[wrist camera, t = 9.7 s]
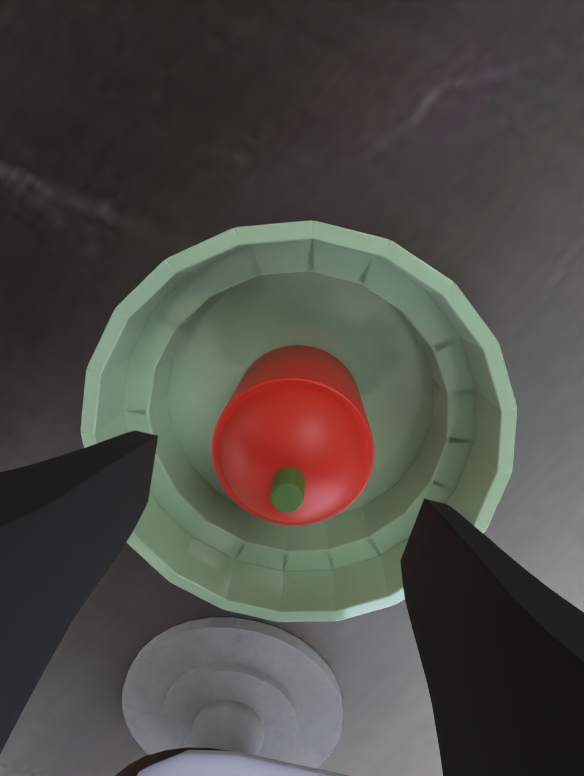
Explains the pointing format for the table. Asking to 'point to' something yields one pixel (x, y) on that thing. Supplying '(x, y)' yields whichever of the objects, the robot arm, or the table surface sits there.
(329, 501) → the pepper
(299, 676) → the mate gourd
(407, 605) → the robot arm
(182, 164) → the table surface
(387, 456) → the bowl
